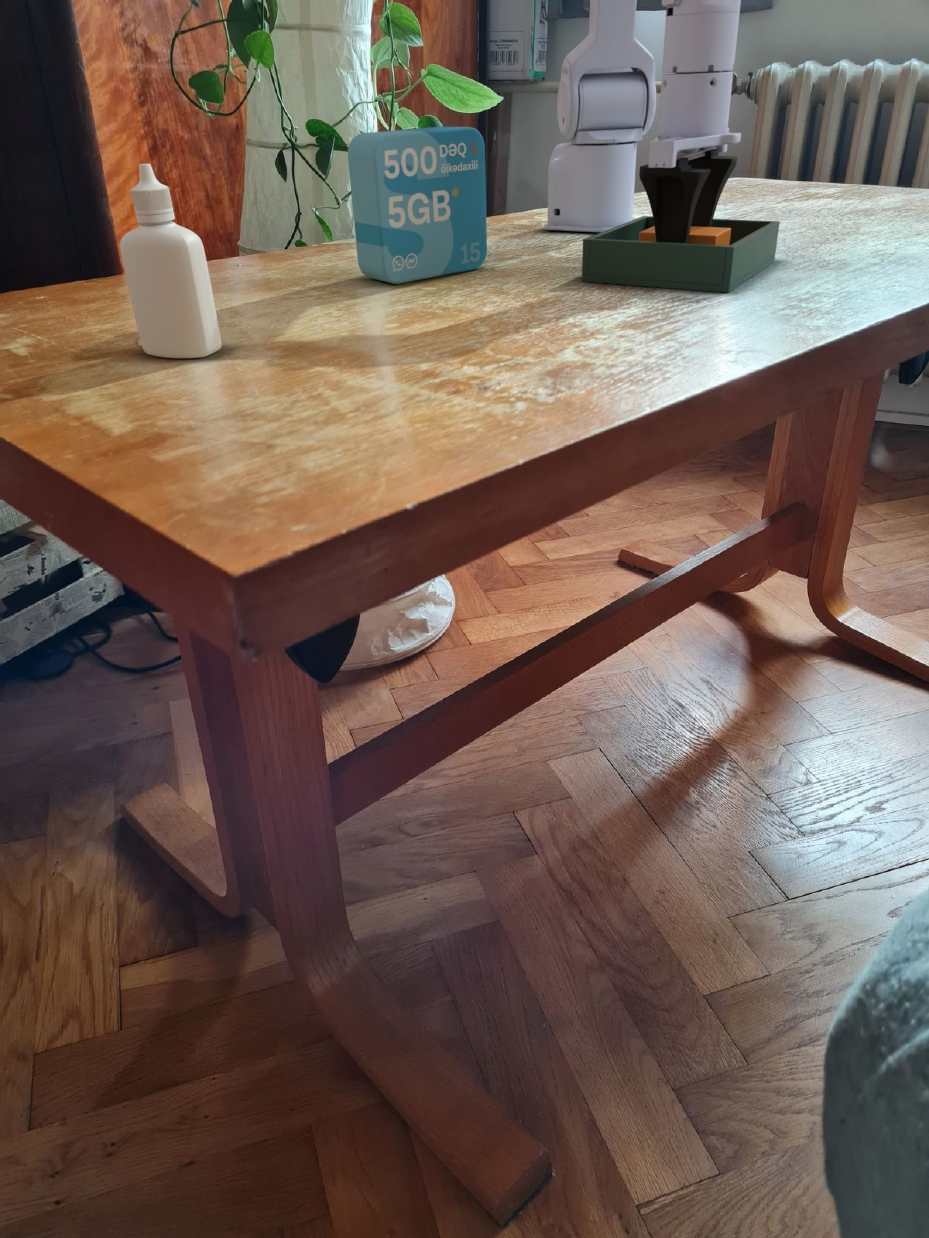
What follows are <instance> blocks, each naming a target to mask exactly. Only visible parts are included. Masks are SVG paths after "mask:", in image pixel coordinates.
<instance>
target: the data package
mask: <svg viewBox="0 0 929 1238" xmlns="http://www.w3.org/2000/svg"><path fill="white" fill-rule="evenodd" d="M485 146H486V145H485V141H484V137H483V136H482V134H481V132H480V131H479V130H478V129H477V128H475V127H471V126H470V127H469V126H433V127H420V128H410V129H397V130H386V131H385V130H384V131H374V132H362V133H359V134H356V135H355V136H354V137H353V138H352V139H351V141H350V142H349V145H348V149H347V162H348V173H349V182H350V183H349V184H350V193H351V203H352V204H351V205H352V212H353V213H352V214H353V215H352V216H353V223H354V234H355V245H356V256H357V264H358V268H359V270H360V272H361V273H362V274H363V275H364V276H365V277H367V278H369V279H374V280H377V281H380V282H381V281H382V282H385V283H390V284H393V285H401V284H407V283H412V282H416V281H422V280H427V279H431V278H432V279H433V278H438V277H443V276H448V275H454V274H458V273H465V272H468V271H474V270H478V268H480V267H481V266H482V265H483V264H484V262H485V261H486V257H487V255H488V235H487V234H488V233H487V231H488V230H487V194H486V193H487V191H486V188H487V187H486V151H485V150H486V149H485V148H486V147H485Z"/></svg>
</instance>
